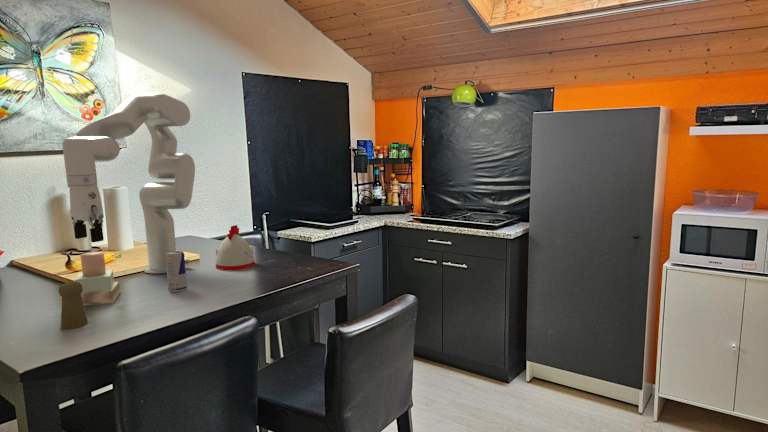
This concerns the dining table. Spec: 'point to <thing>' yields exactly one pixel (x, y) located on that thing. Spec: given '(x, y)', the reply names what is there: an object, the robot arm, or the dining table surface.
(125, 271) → the dining table surface
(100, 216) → the robot arm
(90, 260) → the pink cube
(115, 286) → the tower base
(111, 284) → the tower top
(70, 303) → the olive pepper mill
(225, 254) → the white beanie hat
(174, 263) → the energy drink
